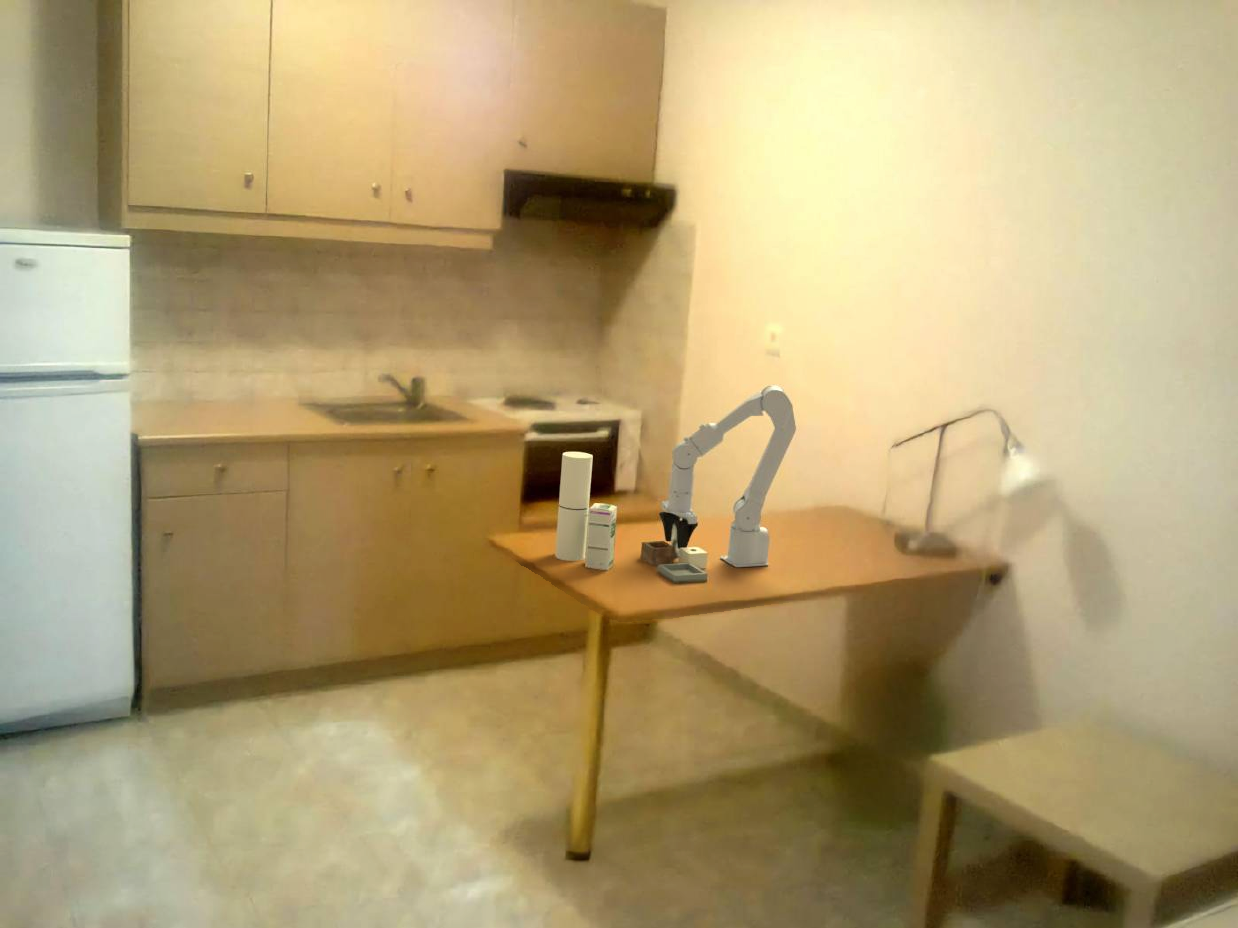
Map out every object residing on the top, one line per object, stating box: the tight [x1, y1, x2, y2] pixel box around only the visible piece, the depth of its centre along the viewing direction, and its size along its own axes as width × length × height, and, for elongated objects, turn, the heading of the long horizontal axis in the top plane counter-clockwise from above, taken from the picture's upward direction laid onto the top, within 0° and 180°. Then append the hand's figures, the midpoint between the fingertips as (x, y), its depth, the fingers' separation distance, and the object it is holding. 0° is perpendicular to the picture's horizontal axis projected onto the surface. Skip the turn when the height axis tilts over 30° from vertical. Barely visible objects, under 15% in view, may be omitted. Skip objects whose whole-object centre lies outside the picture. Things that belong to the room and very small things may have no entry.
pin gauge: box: [670, 523, 680, 558], centre depth 264 cm, size 3×3×8 cm
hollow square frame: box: [640, 540, 675, 566], centre depth 259 cm, size 6×6×4 cm
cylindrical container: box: [554, 451, 594, 562], centre depth 255 cm, size 7×7×25 cm
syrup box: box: [584, 502, 618, 571], centre depth 251 cm, size 6×6×14 cm
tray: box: [657, 562, 708, 584], centre depth 249 cm, size 8×8×2 cm
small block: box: [677, 546, 709, 570], centre depth 258 cm, size 5×5×4 cm
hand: (675, 544), depth 265 cm, fingers open, 6 cm apart
